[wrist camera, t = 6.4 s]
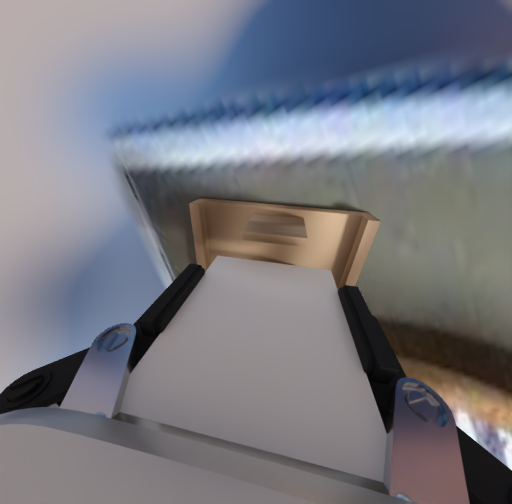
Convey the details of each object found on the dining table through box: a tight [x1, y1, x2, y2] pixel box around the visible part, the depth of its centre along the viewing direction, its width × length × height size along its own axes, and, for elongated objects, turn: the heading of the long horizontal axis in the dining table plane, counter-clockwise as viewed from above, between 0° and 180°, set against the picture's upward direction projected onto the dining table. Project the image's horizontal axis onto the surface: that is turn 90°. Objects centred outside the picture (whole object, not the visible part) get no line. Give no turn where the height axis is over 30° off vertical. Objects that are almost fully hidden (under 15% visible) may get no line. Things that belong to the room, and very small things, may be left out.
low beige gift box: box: [119, 256, 387, 491], centre depth 8 cm, size 7×2×8 cm, turn 88°
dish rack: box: [189, 198, 381, 290], centre depth 15 cm, size 14×15×8 cm
